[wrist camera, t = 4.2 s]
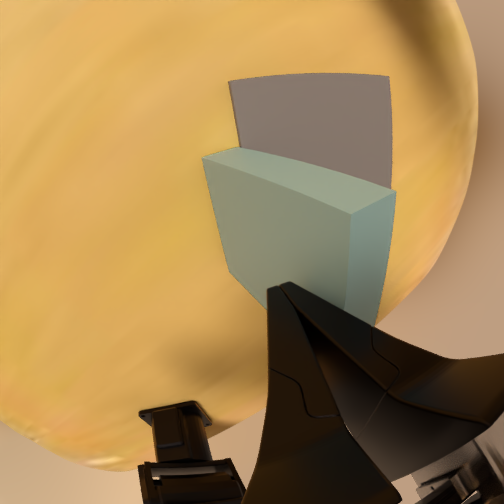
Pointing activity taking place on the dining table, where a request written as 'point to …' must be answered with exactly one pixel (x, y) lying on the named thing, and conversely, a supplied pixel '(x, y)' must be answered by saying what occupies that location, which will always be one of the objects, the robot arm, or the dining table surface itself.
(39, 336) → the dining table surface
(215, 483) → the robot arm
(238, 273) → the tile
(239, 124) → the mat
